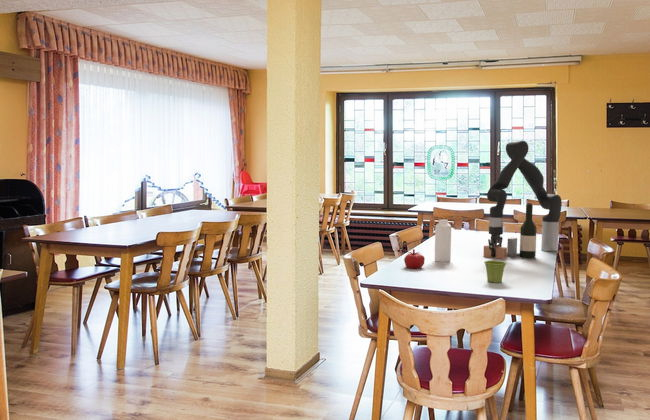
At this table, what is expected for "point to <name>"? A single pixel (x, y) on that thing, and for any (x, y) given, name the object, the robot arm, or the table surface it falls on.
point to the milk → (443, 241)
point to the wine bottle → (528, 235)
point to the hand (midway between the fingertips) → (494, 256)
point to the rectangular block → (500, 252)
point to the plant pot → (494, 270)
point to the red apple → (414, 260)
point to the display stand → (512, 248)
